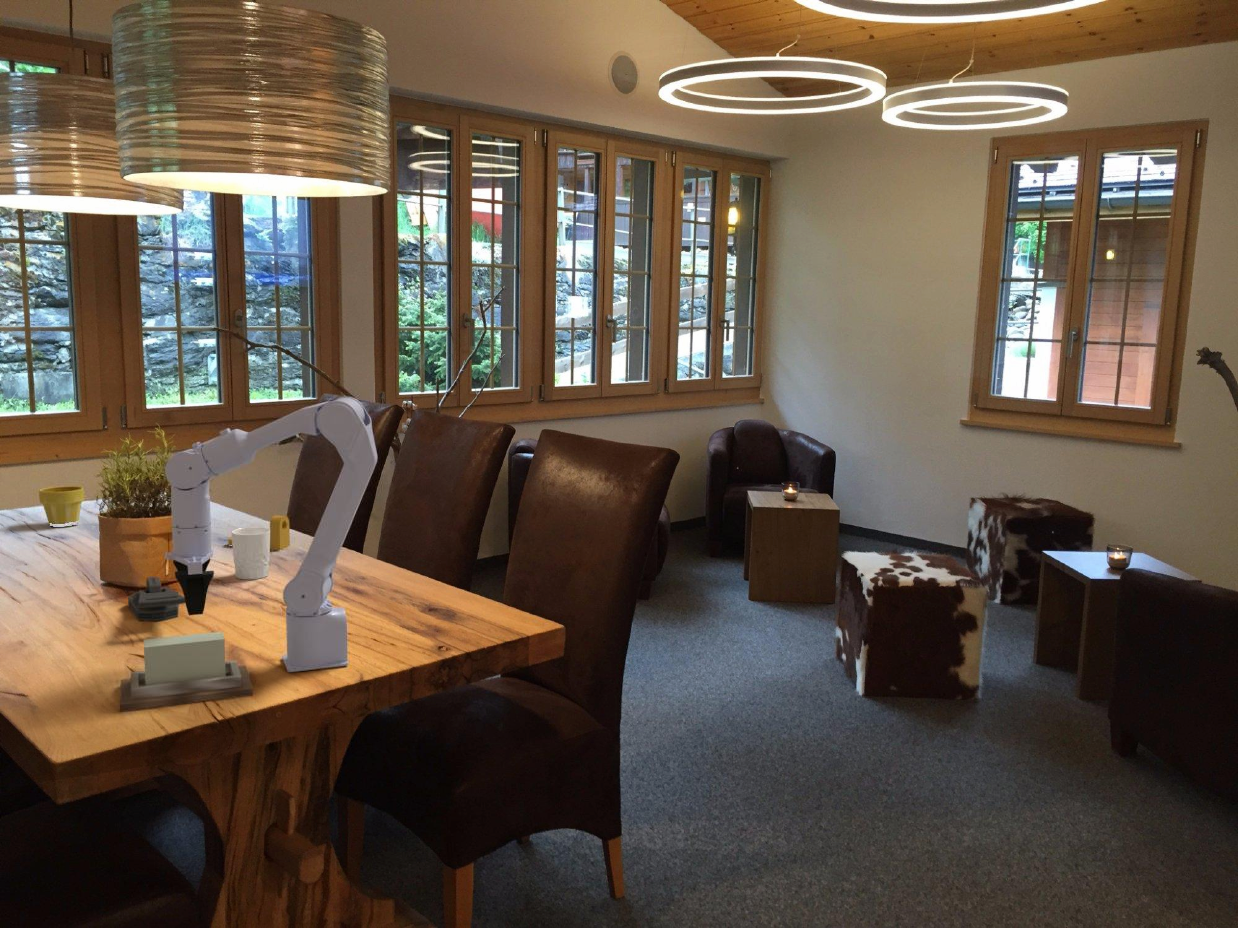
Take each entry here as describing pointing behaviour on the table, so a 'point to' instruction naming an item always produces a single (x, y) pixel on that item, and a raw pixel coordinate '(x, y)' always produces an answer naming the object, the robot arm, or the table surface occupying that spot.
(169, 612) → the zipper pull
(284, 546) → the bracket
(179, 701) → the plate
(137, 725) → the table surface
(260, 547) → the white cup
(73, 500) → the plant pot
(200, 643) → the pale green block
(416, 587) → the table surface
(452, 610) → the table surface
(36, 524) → the table surface
